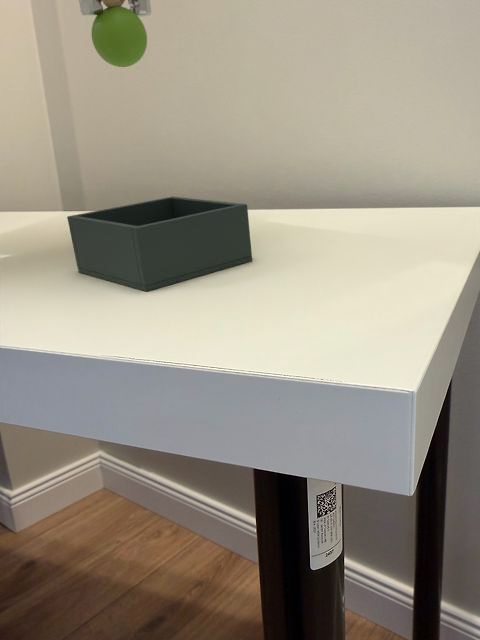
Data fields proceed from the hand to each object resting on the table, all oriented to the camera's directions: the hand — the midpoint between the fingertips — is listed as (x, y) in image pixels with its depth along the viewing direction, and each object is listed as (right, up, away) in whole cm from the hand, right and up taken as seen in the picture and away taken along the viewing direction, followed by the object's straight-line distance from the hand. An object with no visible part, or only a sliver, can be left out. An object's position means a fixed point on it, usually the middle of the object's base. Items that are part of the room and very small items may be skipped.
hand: (117, 15), depth 66 cm
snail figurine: (0, -4, +2) cm, 5 cm away
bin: (+5, -25, 0) cm, 26 cm away
